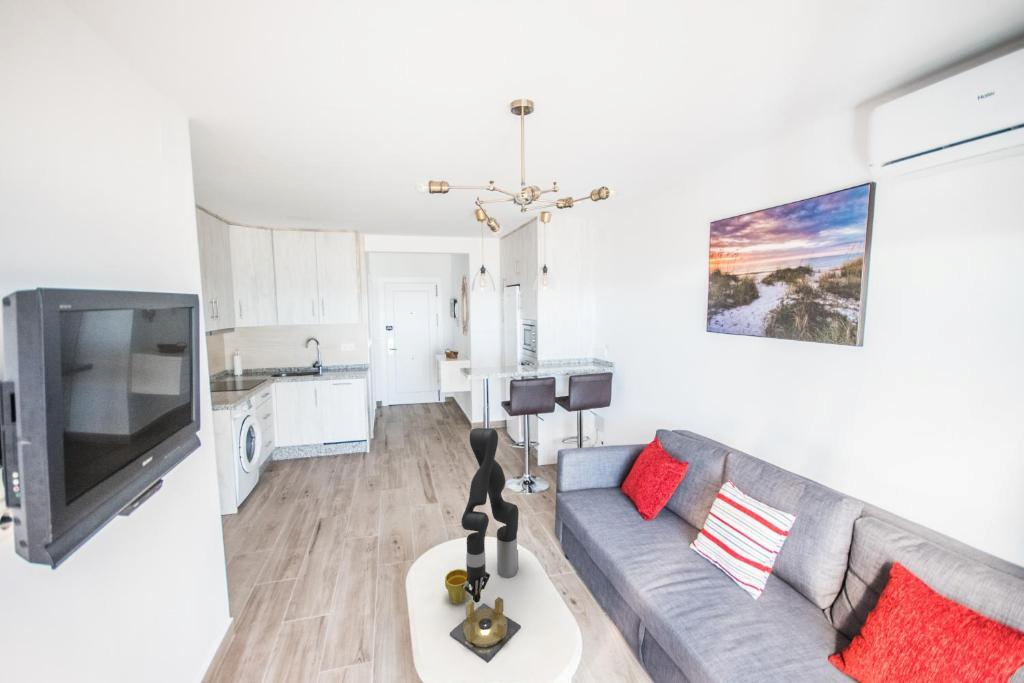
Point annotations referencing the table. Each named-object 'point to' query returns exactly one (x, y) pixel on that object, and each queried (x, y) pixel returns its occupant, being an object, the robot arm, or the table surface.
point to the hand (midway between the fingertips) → (476, 601)
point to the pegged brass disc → (485, 624)
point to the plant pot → (456, 585)
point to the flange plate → (489, 651)
